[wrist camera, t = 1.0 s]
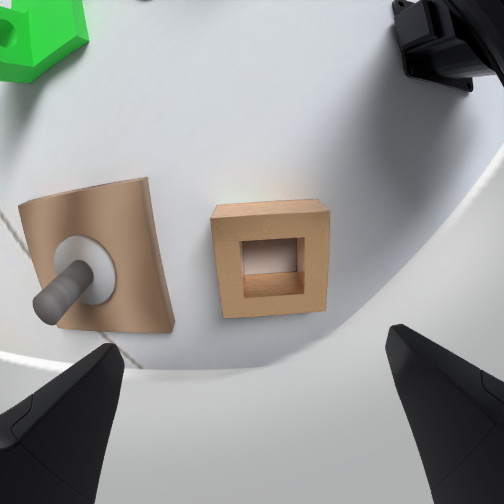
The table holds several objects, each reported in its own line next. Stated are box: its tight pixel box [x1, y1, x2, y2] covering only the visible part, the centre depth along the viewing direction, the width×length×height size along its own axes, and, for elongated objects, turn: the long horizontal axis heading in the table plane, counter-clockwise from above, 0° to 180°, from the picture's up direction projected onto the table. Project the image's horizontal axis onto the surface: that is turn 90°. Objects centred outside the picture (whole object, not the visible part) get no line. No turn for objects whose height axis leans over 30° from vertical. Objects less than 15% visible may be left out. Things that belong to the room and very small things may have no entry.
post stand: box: [18, 177, 175, 333], centre depth 16 cm, size 11×11×7 cm
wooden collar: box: [210, 199, 330, 318], centre depth 18 cm, size 6×6×3 cm
